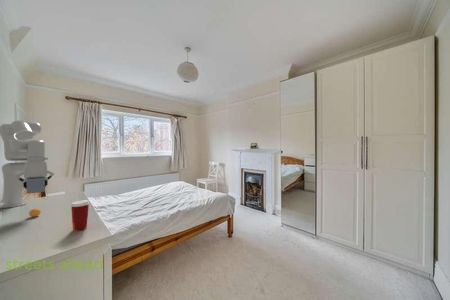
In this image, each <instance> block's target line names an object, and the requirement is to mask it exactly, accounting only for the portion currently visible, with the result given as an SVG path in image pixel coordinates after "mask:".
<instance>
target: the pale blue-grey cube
mask: <svg viewBox="0 0 450 300" xmlns="http://www.w3.org/2000/svg"><path fill="white" fill-rule="evenodd" d="M26 182H27V189H26V195H28V194H36V193H37V194H38V193H44V192H45V191H46V189H45V188H46V187H45V178H43V177H38V178H28V179H27V181H26Z"/></svg>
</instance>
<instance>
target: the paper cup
mask: <svg viewBox="0 0 450 300" xmlns="http://www.w3.org/2000/svg"><path fill="white" fill-rule="evenodd" d="M89 205H90V201H89V200H87V199H83V200H77V201H73V202H71V204H70V207H71V220H72V221H71V222H72V223H71V224H72V231H73V232H81V231H83V230H86V229H87V228H88V217H89V207H90V206H89Z"/></svg>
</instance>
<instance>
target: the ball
mask: <svg viewBox="0 0 450 300" xmlns="http://www.w3.org/2000/svg"><path fill="white" fill-rule="evenodd" d="M41 213H42V210H41V209H40V208H38V207H37V208H35V207H34V208H32V209H31V210H29V212H28V214H29V216H30V217H31V218H36V217H38V216H39V215H40V214H41Z"/></svg>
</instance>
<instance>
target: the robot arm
mask: <svg viewBox="0 0 450 300" xmlns="http://www.w3.org/2000/svg"><path fill="white" fill-rule="evenodd" d="M41 132H42V126H41V125H40V123H39V122H36V121H28V120H15V121H11V123H4V124H0V138H1V139H2V141H3V149H4V150H3V151H4V159H5V160H6V161H11V162H8V163H5V164H3V165H2V166H1V172H2V179H3V202H2V204H1V205H0V208H1V209H8V208H9V209H10V208H15V207H20V206H24V205H26V204H27V201H24V189H25V190H27V179H28V178H38V177H43V178H45V188H46V187H47V186H48V182H49V180H50V179H51V178H52V177H53V176H54V175H55V172H52V171H49V170H48V165H47V160H49V158H48V157H46V156H45V148H46V147H45V146H46V144H45V141H44V140H40V139H39V140H38V139H32V138H34V137H35V136H37V135H39V134H40V133H41ZM21 161H22V162H21ZM48 174H49V176H48ZM22 176H23V177H24V178H23V177H22Z"/></svg>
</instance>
